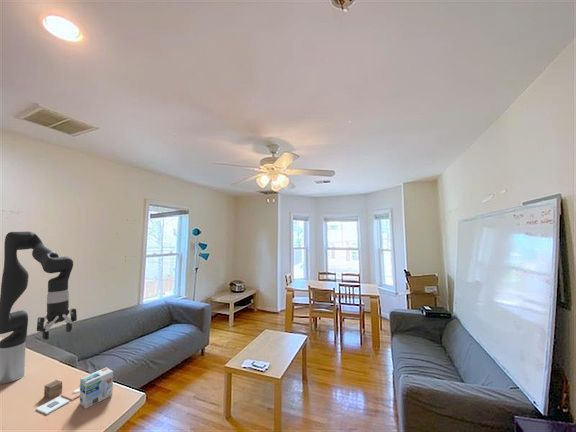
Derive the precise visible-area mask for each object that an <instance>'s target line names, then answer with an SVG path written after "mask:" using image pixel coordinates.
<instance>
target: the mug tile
mask: <svg viewBox="0 0 576 432" xmlns="http://www.w3.org/2000/svg"><path fill="white" fill-rule="evenodd" d="M60 397H61V398H64V399H67V400H69V401H74V400H76V399H78V398H80V384H79V385H77V386H76V387H73V388H72V389H70V390H68V391H66V392H64V393H61V394H60ZM77 397H78V398H77ZM75 398H76V399H75Z"/></svg>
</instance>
